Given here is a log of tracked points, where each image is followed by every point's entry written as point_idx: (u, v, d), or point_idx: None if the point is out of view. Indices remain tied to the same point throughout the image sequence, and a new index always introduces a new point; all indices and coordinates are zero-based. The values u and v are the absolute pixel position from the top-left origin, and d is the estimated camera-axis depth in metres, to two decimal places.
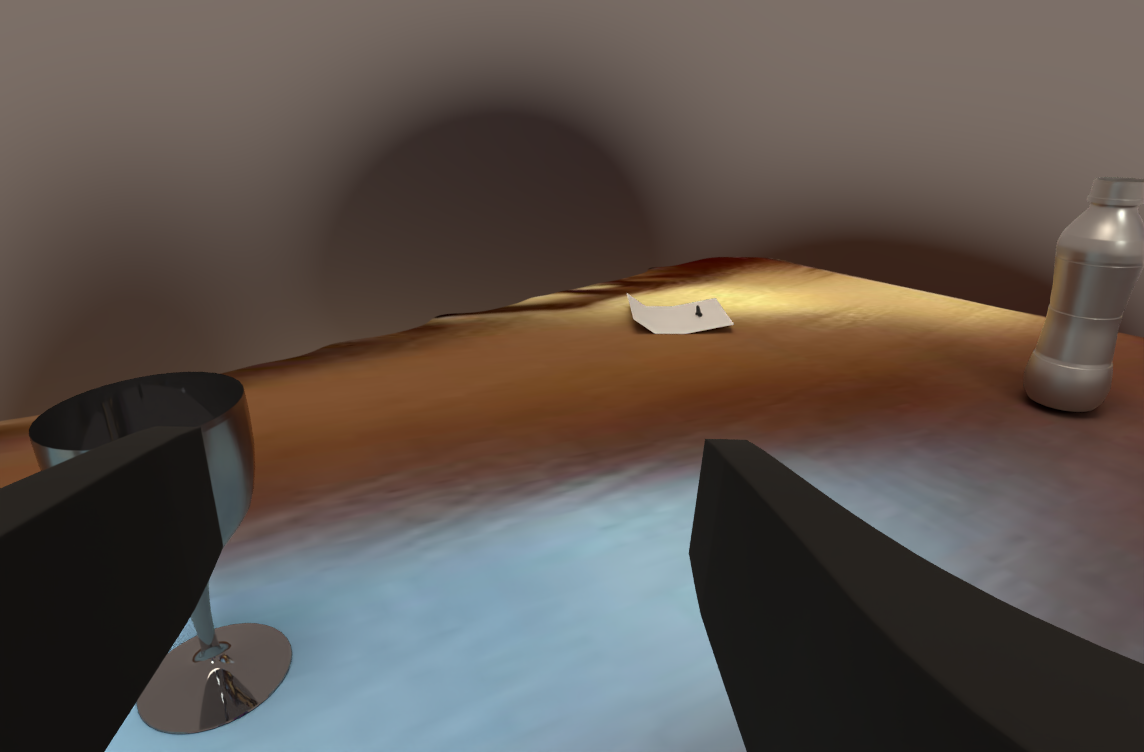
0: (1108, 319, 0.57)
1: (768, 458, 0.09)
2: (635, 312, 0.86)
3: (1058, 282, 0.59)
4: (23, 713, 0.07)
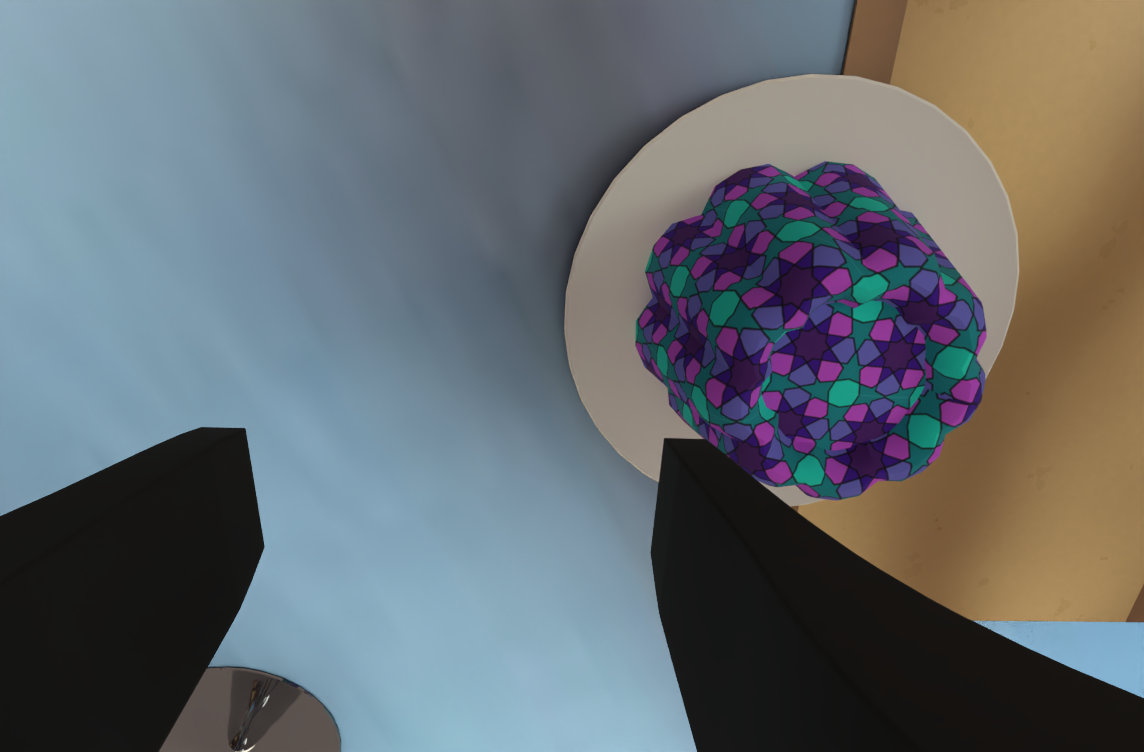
0: None
1: (722, 457, 0.09)
2: None
3: None
4: (88, 713, 0.07)
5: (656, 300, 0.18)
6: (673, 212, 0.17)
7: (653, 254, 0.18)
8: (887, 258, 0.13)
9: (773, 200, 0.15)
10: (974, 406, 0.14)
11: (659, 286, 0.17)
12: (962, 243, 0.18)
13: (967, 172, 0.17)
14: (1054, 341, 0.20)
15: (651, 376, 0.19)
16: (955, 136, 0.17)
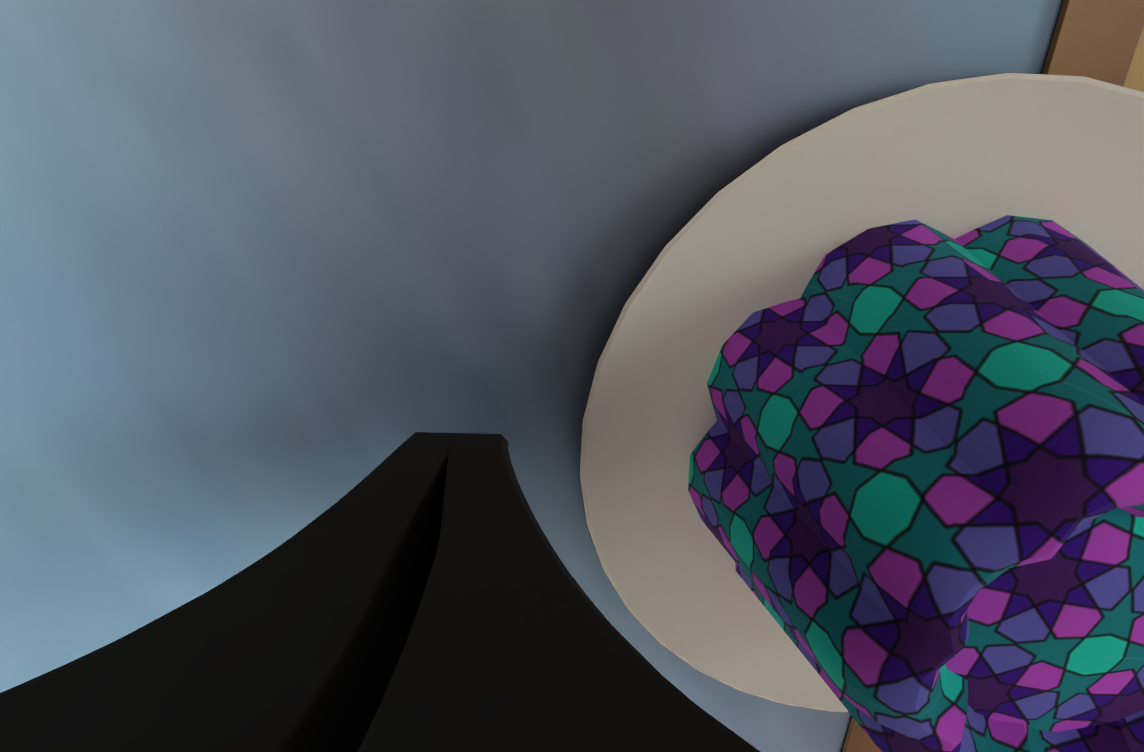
0: None
1: (495, 452, 0.09)
2: None
3: None
4: None
5: (724, 429, 0.12)
6: (755, 294, 0.11)
7: (723, 361, 0.11)
8: None
9: (949, 293, 0.09)
10: None
11: (735, 417, 0.11)
12: None
13: None
14: None
15: (710, 532, 0.13)
16: None
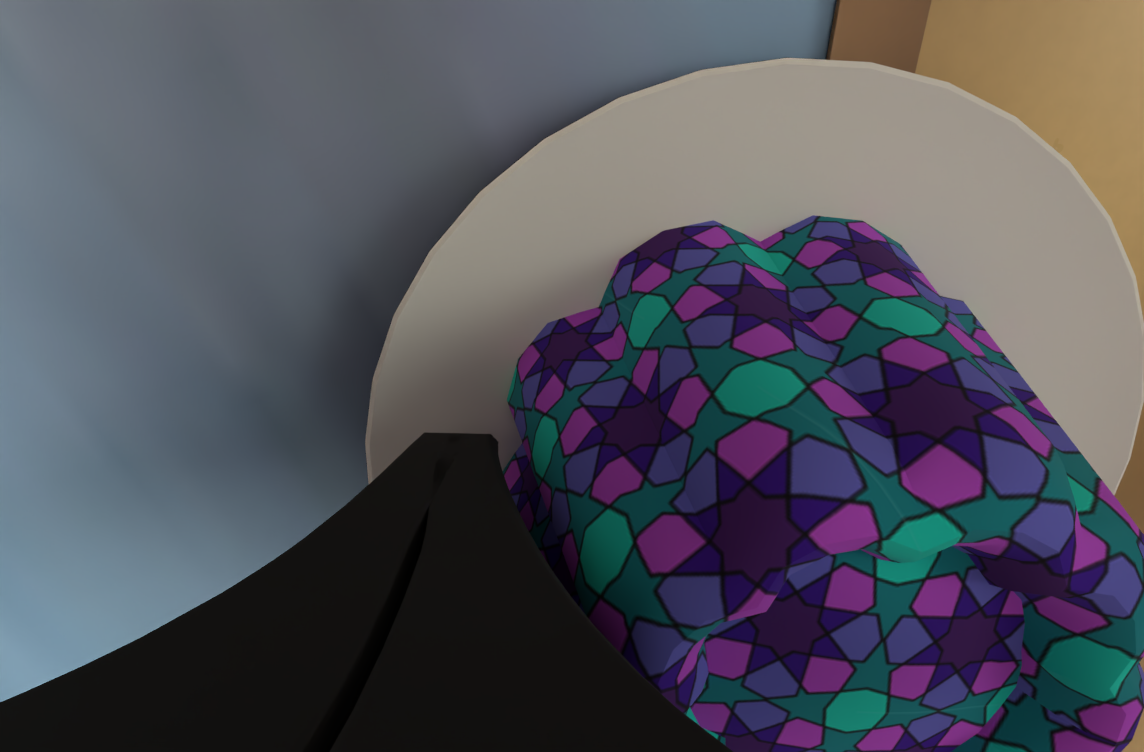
0: None
1: (484, 452, 0.09)
2: None
3: None
4: None
5: None
6: (548, 303, 0.10)
7: (517, 376, 0.10)
8: (960, 474, 0.06)
9: (714, 302, 0.08)
10: (1126, 745, 0.07)
11: (521, 439, 0.10)
12: (1048, 350, 0.10)
13: (1066, 234, 0.09)
14: None
15: None
16: (1049, 172, 0.09)
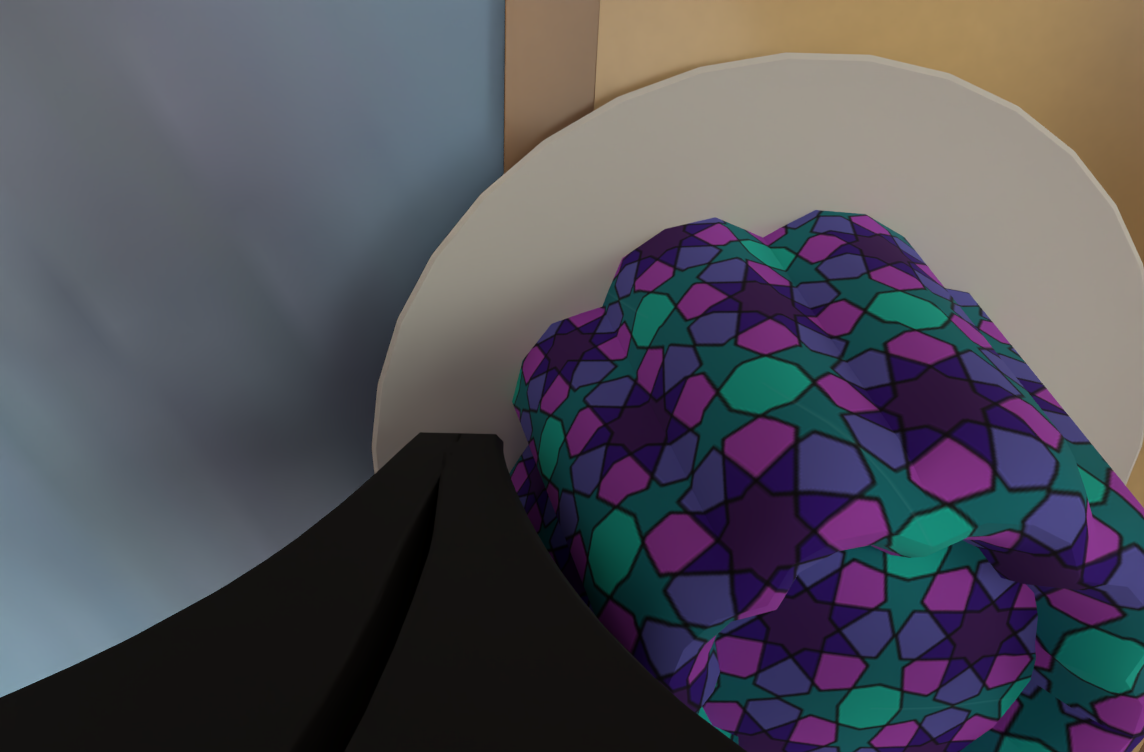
0: None
1: (490, 452, 0.09)
2: None
3: None
4: None
5: None
6: (551, 304, 0.10)
7: (522, 378, 0.10)
8: (969, 466, 0.06)
9: (718, 300, 0.08)
10: (1143, 736, 0.07)
11: (527, 441, 0.10)
12: (1056, 340, 0.10)
13: (1072, 223, 0.09)
14: None
15: None
16: (1051, 161, 0.09)
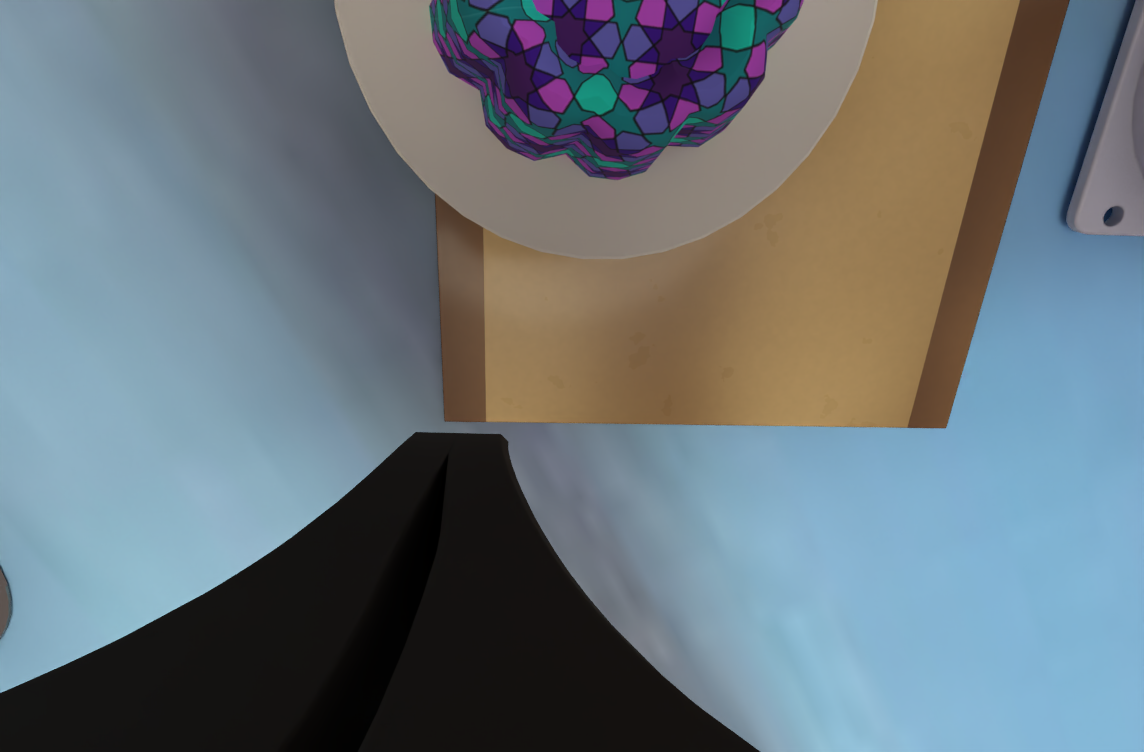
0: None
1: (495, 452, 0.09)
2: None
3: None
4: None
5: None
6: None
7: None
8: None
9: None
10: None
11: None
12: None
13: None
14: None
15: (458, 85, 0.16)
16: None
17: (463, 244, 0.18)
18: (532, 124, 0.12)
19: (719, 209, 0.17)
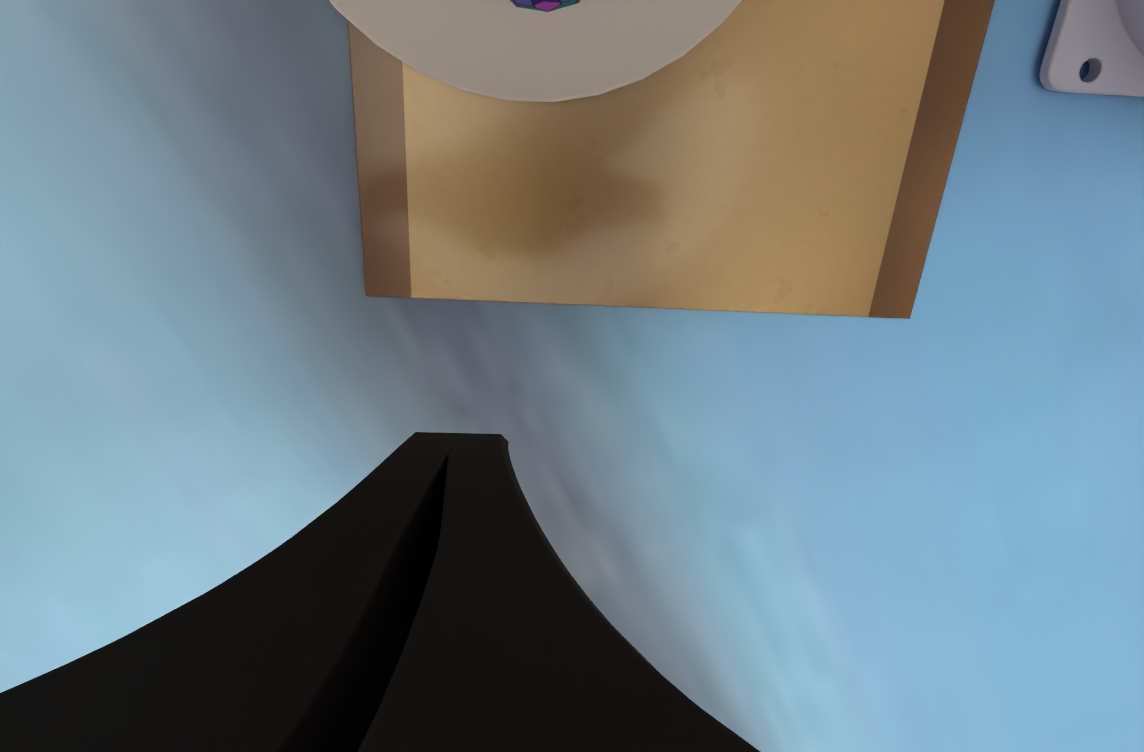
0: None
1: (494, 452, 0.09)
2: None
3: None
4: None
5: None
6: None
7: None
8: None
9: None
10: None
11: None
12: None
13: None
14: None
15: None
16: None
17: (381, 87, 0.16)
18: None
19: (659, 46, 0.16)
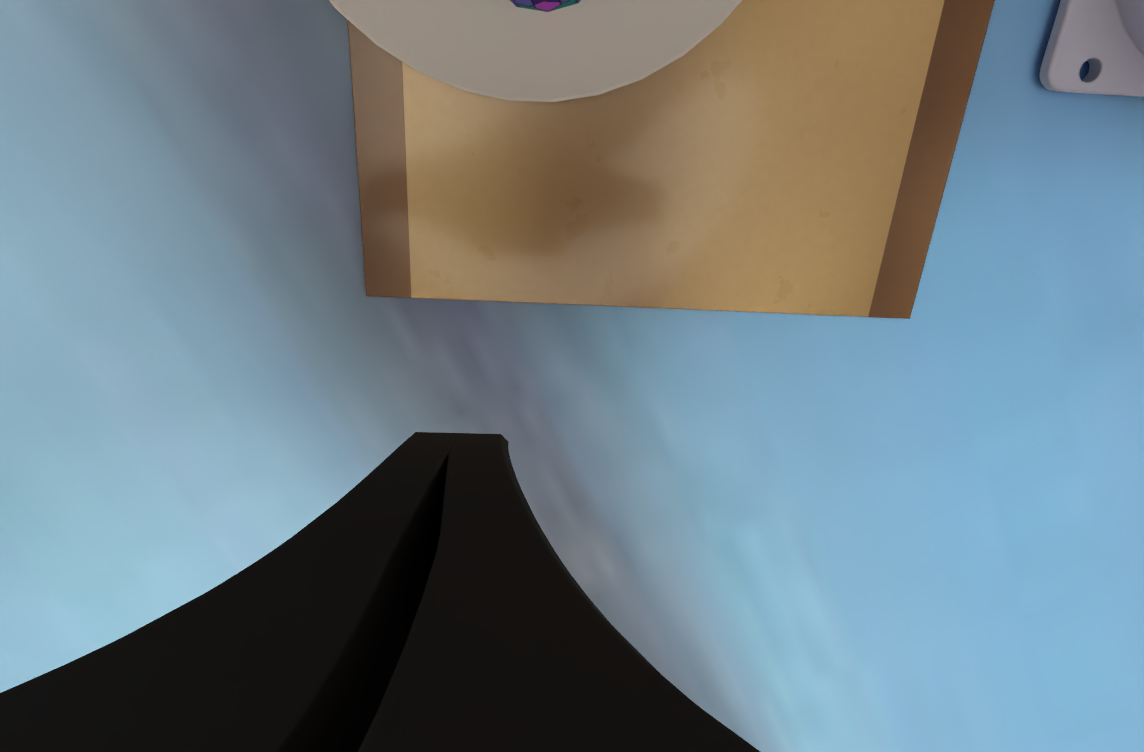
0: None
1: (494, 452, 0.09)
2: None
3: None
4: None
5: None
6: None
7: None
8: None
9: None
10: None
11: None
12: None
13: None
14: None
15: None
16: None
17: (381, 87, 0.16)
18: None
19: (659, 46, 0.16)
